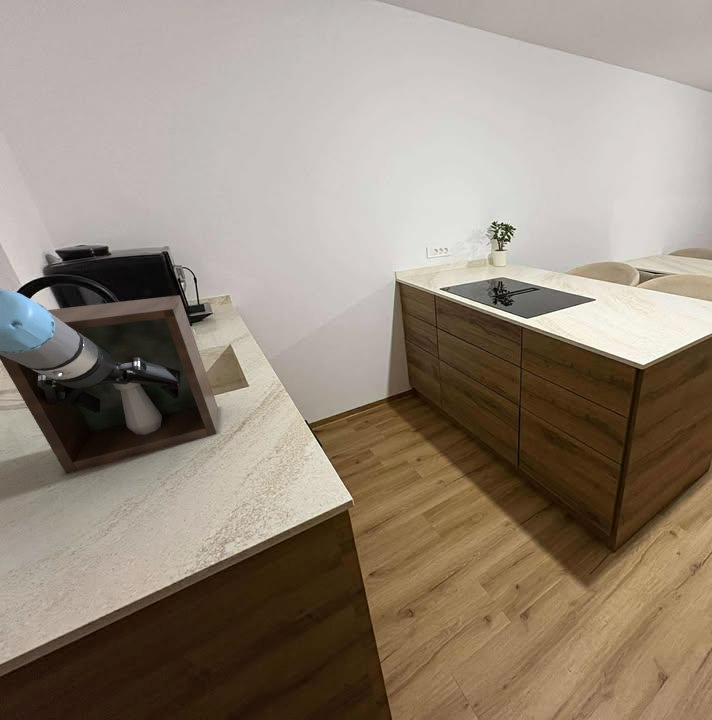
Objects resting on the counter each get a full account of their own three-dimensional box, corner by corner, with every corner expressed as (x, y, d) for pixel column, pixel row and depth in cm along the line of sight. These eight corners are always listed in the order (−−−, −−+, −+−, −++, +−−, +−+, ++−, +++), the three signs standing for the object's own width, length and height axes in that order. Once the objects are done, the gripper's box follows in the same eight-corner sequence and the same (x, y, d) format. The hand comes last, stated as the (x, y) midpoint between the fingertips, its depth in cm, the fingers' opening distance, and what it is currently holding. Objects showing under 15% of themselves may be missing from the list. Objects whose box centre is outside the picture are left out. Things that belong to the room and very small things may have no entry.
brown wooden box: (65, 474, 71) (-16, 332, 60) (86, 439, 81) (19, 313, 70) (216, 434, 83) (172, 308, 71) (218, 408, 93) (179, 295, 81)
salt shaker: (124, 434, 79) (98, 379, 74) (153, 420, 84) (130, 368, 79) (143, 439, 78) (118, 383, 72) (171, 424, 83) (150, 371, 77)
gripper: (-42, 397, 55) (59, 430, 73) (165, 366, 64) (208, 402, 83) (-37, 351, 57) (61, 394, 75) (163, 327, 66) (205, 371, 85)
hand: (138, 398), depth 79 cm, fingers open, 12 cm apart
